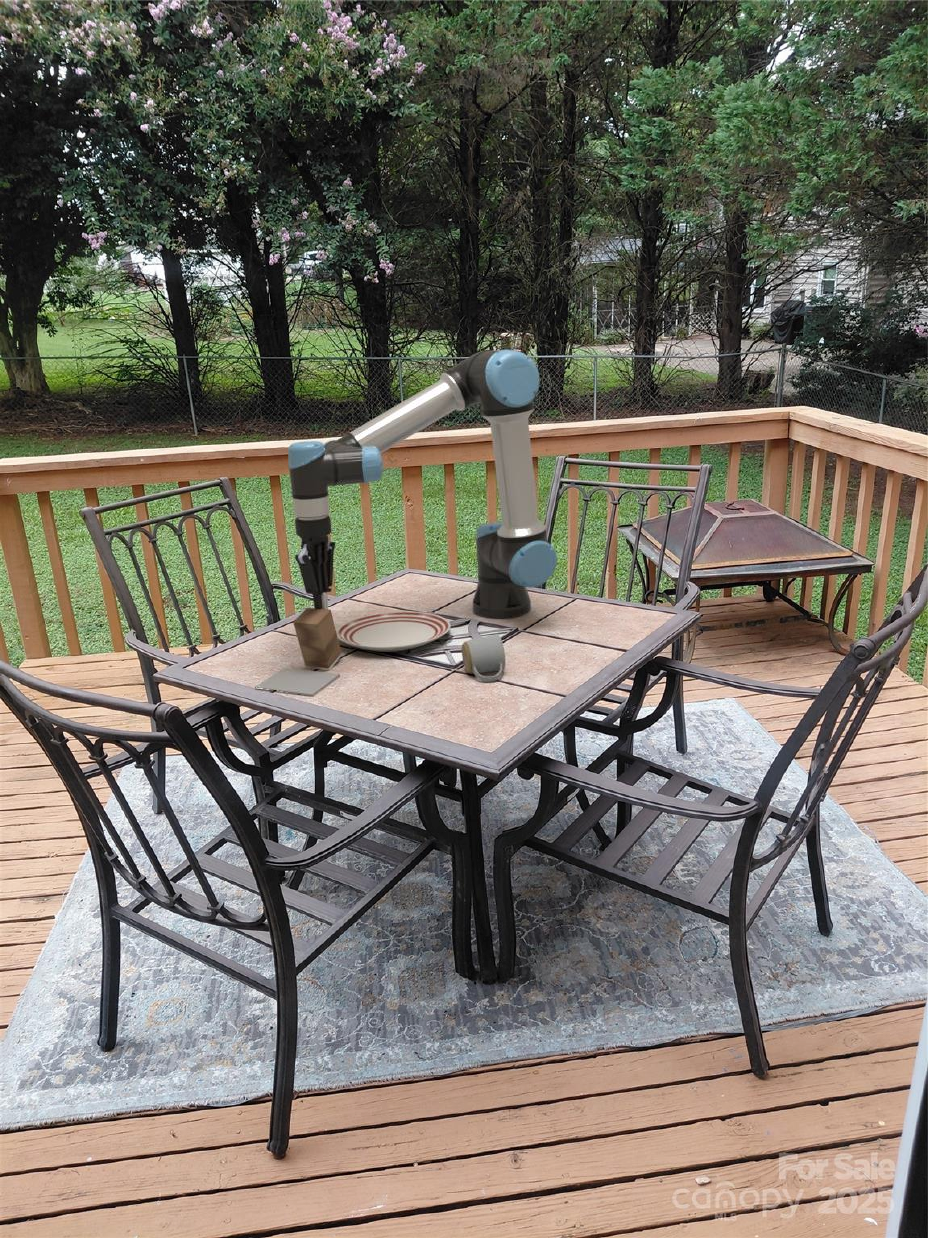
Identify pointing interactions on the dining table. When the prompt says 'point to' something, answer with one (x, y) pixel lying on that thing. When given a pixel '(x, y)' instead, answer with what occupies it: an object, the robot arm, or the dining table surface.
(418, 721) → the dining table surface
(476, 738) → the dining table surface
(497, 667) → the ceramic mug
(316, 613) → the walnut block
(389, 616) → the dinner plate
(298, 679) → the grey mat
